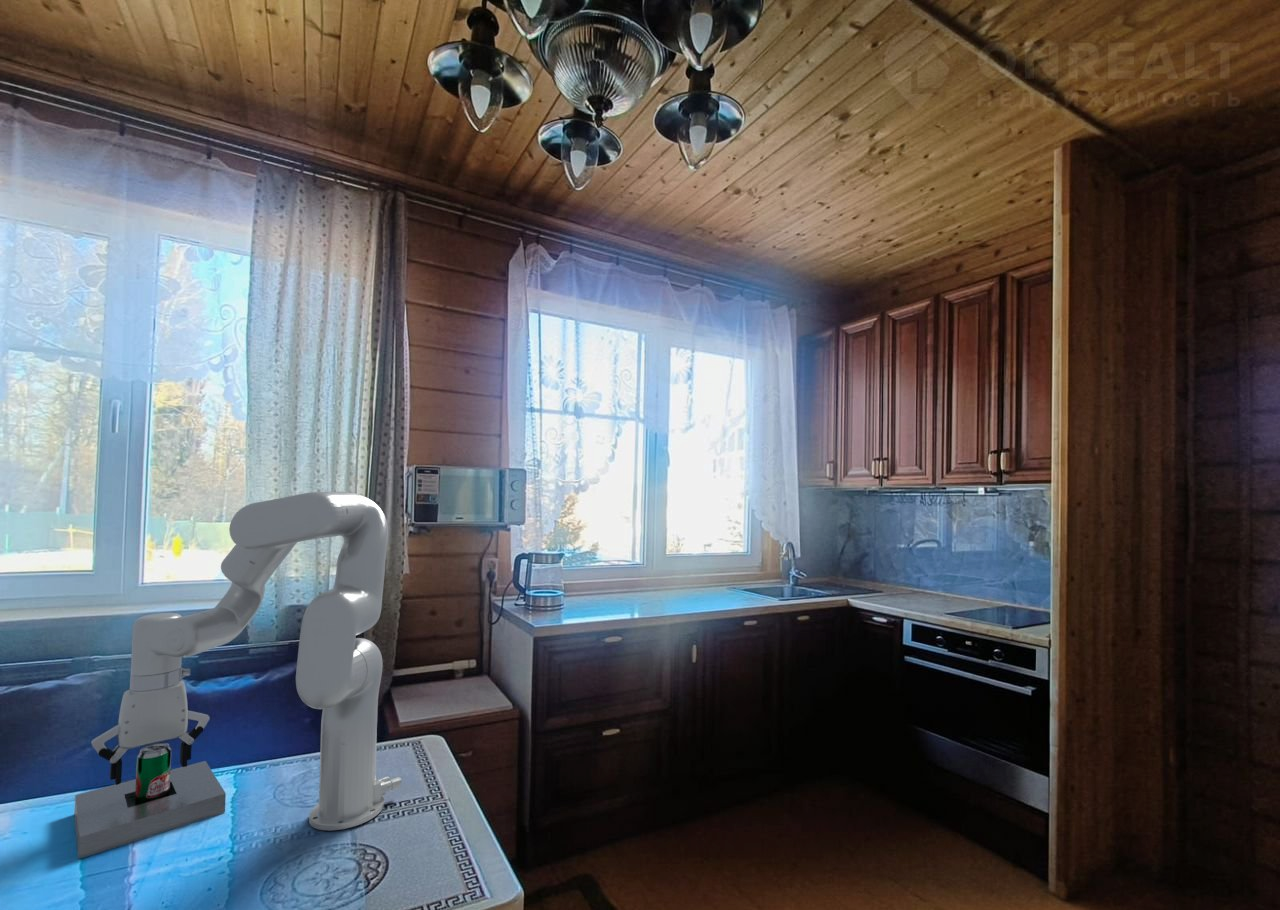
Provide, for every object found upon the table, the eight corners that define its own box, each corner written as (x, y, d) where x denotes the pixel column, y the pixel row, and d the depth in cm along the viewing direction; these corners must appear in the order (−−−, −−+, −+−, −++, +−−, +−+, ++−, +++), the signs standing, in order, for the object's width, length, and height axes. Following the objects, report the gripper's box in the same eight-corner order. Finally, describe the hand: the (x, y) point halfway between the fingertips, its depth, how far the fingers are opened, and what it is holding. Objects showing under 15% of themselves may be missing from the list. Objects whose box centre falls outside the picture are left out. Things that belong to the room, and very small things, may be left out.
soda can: (148, 822, 108) (151, 754, 109) (126, 819, 109) (130, 752, 110) (175, 807, 113) (178, 743, 114) (154, 805, 114) (157, 741, 115)
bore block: (204, 777, 125) (205, 760, 125) (224, 812, 111) (225, 793, 111) (74, 814, 111) (75, 795, 111) (78, 859, 97) (79, 837, 97)
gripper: (207, 667, 122) (204, 753, 120) (93, 686, 109) (87, 782, 108) (214, 674, 116) (211, 764, 115) (95, 695, 104) (90, 796, 103)
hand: (151, 773), depth 112 cm, fingers open, 9 cm apart
